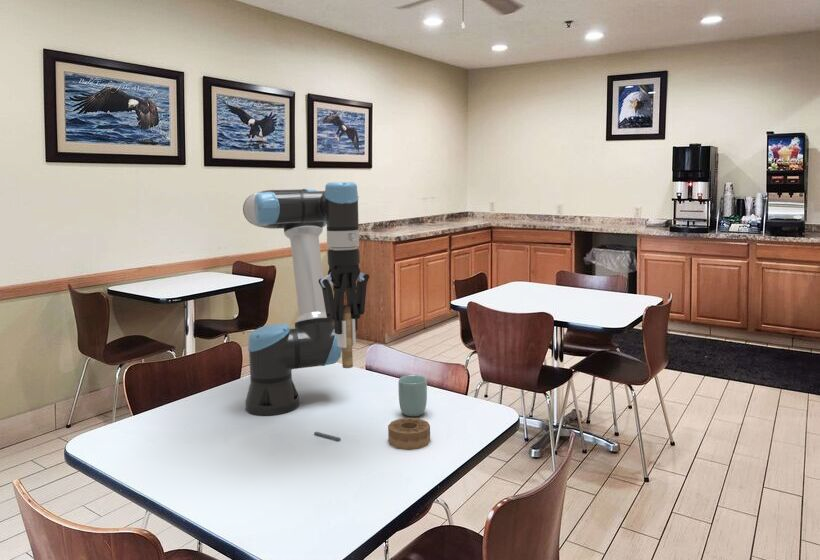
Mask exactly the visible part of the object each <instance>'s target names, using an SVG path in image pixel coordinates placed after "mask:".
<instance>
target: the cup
mask: <svg viewBox="0 0 820 560" xmlns="http://www.w3.org/2000/svg"><path fill="white" fill-rule="evenodd" d="M427 380H428V379H427V378H426V377H425V376H423V375H418V374H416V375H415V374H410V375H403V376H401V377H399V378H398V386H397V387H398V402H399V409H400V411H401V412H402V414H403V415H404V416H407V417H410V418H416V417H420V416H421V415H422V414H424V412H425V410H426V408H427V404H428V403H427V402H428V400H427V399H428V381H427Z"/></svg>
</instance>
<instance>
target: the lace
mask: <svg viewBox="0 0 820 560" xmlns="http://www.w3.org/2000/svg"><path fill="white" fill-rule="evenodd" d="M313 435H314V436H317V437H321V438H324V439H329V440H333V441H336V442H339V441H341V437H338V436H335V435H331V434H327V433H323V432H319V431H315V432H313Z"/></svg>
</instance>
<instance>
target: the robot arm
mask: <svg viewBox="0 0 820 560" xmlns="http://www.w3.org/2000/svg"><path fill="white" fill-rule="evenodd" d="M358 193H359V192H358V186H357V183H356V182H352V181H344V182H343V181H338V182H336V181H335V182H331V181H330V182H327V183H326V184H325V186H324V190H316V189H307V188H301V189H268V190H267V189H266V190H262V191H258V192H255V193H252V194H251V195H249V196H248V197H247V198H246V199H245V201H244V202H243V205H242V206H243V207H242V212H243V215H244V218H245V220H246V221H247V222H248V223H250V225H253V226H255V227H259V228H264V229H270V230H271V229H273V230H275V229H279V230H280V229H283V233H284V234H283V235H284V236H285V237H286V238H288V239H289V241H290V249H291V258H292V266H293V276H294V285H295V292H296V303H297V310H298V318H296V320H295V322H294V328H291V327H290V326H289V324H287V323H275V324H269V325H264V326H261V327H258V328H256V329H254V330H252V331H251V332H250V333H249V335H248V347H247V350H248V351H247V352H248V358H249V360H248V361H249V375H250V376H249V377H250V384H249V386H248V390H247V394H246V399H245V401H244V402H245V403H244V404H245V411H247V413H249V414H252V415H257V416H275V415H280V414H281V415H282V414H286V413H289V412H291V411H293V410H296V409H297V408H299V406H300V397H299V394H298V392H297V388H296V386H295V384H294V381H293V377H292V376H293V375H292V371H293V370H296V369H304V368H315V367H325V366H328V365H335V364H336V363H338V362H339V361H340V359H341V357H342V348H347V340H346V321H345V320H343V306H344V305H345V301H344V300H345V295H346V305H351V330H352V347H355V346H357V342H356V337H357V335H356V333H357V331H358V329H359V328H358V327H359V326H358V325H359V324H358V320H359V319H361V315H364V314H365V311H366V309H365V307H366V299H367V298H366V296H367V284H368V282H369V279H370V275H369V274H367V273H364V272H361V268H360V267H359V266H360V265H359V264H360V263H361V260H360V259H361V258H360V250H359V248H358V247H359V246H360V231H359V229H360V228H359V198H360V197H359V194H358ZM324 227H326V247H327V248H328V251H327V265H328V267H329V268H328V271H327V275H326V276H325V277H324V270H323V261H322V254H321V246H320V245H321V244H320V238H319V237H320V235H321V234H322V233H323V230H324V229H323V228H324Z"/></svg>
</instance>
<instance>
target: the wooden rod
mask: <svg viewBox="0 0 820 560" xmlns="http://www.w3.org/2000/svg"><path fill="white" fill-rule="evenodd" d="M343 320H345V321H346V340H347V348H342V352H341V361H342V362H341V363H342V366H341V367H342V368H343V369H351V368H352V369H353V368H354V362H353V359H354V358H353V357H354V356H353V346H352V330H351V305H347V304H344V306H343Z"/></svg>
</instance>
